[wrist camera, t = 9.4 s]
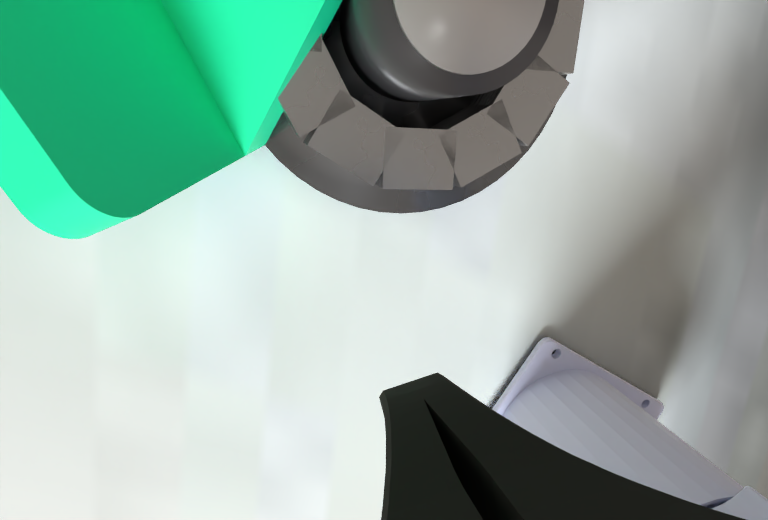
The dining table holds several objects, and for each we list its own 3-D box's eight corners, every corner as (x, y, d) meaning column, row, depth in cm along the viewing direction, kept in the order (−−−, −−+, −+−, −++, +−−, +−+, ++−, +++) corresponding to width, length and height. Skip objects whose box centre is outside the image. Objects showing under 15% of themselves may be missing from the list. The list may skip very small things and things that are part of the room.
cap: (503, 6, 16) (602, -42, 11) (429, 129, 17) (492, 133, 12) (389, -94, 14) (448, -201, 10) (312, 47, 15) (331, 13, 10)
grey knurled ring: (618, -10, 18) (682, -35, 15) (443, 262, 20) (472, 285, 17) (343, -298, 14) (362, -406, 11) (146, 87, 15) (118, 79, 12)
